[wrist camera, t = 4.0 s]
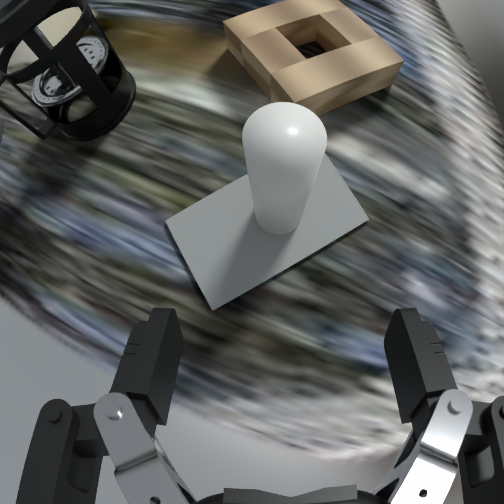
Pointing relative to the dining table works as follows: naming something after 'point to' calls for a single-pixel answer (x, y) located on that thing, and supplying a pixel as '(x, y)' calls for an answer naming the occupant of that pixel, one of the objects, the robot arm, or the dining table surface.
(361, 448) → the dining table surface
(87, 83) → the french press
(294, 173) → the peg
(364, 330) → the dining table surface
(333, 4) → the socket block
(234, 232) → the mat
